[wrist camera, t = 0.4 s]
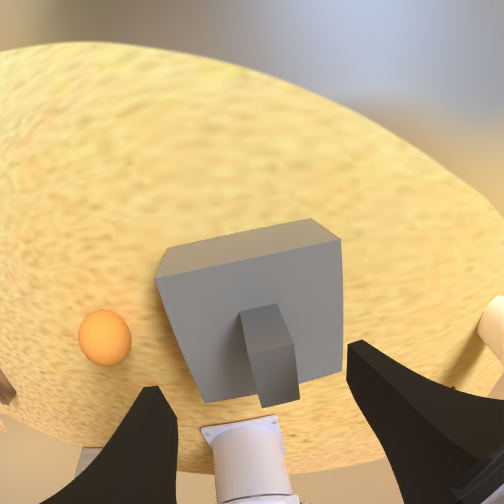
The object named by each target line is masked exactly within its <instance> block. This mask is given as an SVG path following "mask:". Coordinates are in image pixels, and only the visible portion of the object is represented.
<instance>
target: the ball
mask: <svg viewBox="0 0 504 504" xmlns="http://www.w3.org/2000/svg"><path fill="white" fill-rule="evenodd" d="M78 340H79V345H80V347H81V350H82V351H83V353H84V354H85V356H86V357H87V358H88V359H89V360H91V361H92V362H94V363H96V364H98V365H102V366H112V365H115V364H118V363H119V362H121V361H122V360H123V359H124V358H125V357H126V356H127V354H128V352H129V350H130V346H131V335H130V331H129V329H128V327H127V325H126V323H125V322H124V321H123V320H122V319H121V318H120V317H119V316H118V315H116V314H114V313H112V312H109V311H96V312H93V313H91V314H90V315H88V316H87V317H86V318H85V319H84V320H83V321H82V323H81V325H80V328H79V333H78Z"/></svg>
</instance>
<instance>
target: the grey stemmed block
mask: <svg viewBox="0 0 504 504" xmlns="http://www.w3.org/2000/svg"><path fill="white" fill-rule="evenodd" d="M154 279H155V282H156V285H157V288H158V291H159V294H160V297H161V300H162V303H163V305H164V308H165V311H166V313H167V316H168V319H169V321H170V324H171V327H172V329H173V332H174V334H175V337H176V339H177V342H178V344H179V347H180V349H181V352H182V354H183V356H184V359H185V361H186V363H187V366H188V368H189V370H190V373H191V375H192V377H193V379H194V382H195V384H196V386H197V388H198V390H199V392H200V394H201V397H202V399H203V401H204V403H208V402H214V401H221V400H227V399H233V398H238V397H243V396H249V395H254V394H258V396H259V399H260V403H261V407H262V408H266V407H270V406H275V405H279V404H283V403H287V402H291V401H295V400H299V399H300V395H299V385H298V384H300V383H304V382H307V381H311V380H314V379H318V378H321V377H324V376H328V375H331V374H334V373H337V372H340V371H342V360H343V274H342V252H341V239H340V238H339V237H337V236H336V235H334V234H333V233H332V232H330V231H329V230H327V229H326V228H324V227H323V226H322V225H320V224H319V223H317V222H316V221H314V220H313V219H311V218H310V219H305V220H300V221H295V222H290V223H285V224H279V225H274V226H269V227H265V228H260V229H255V230H250V231H245V232H240V233H235V234H231V235H226V236H221V237H216V238H212V239H207V240H202V241H198V242H193V243H189V244H184V245H180V246H175V247H171V248H168V249H167V251H166V253H165V255H164V257H163V260H162V262H161V264H160V267H159V269H158V271H157V273H156V276H155V278H154Z"/></svg>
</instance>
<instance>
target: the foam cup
mask: <svg viewBox="0 0 504 504" xmlns="http://www.w3.org/2000/svg"><path fill="white" fill-rule="evenodd" d="M477 333H478V334H479V336H480V337H481V338H482V340H483V341H484V342H485V343H486V345H487V346H488V347H489V348H490V349H491V351H492V352H493V353H494V354H495V356H496V357H497V358H498V360H499V361H500V362H501V363H502V365H503V366H504V297H503V296H497V297H495V298H494V299H493V300H492V301H491V302H490V304H489V305H488V306H487V308H486V309H485V311H484V313H483V315H482V316H481V319H480V322H479V324H478V331H477Z"/></svg>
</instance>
